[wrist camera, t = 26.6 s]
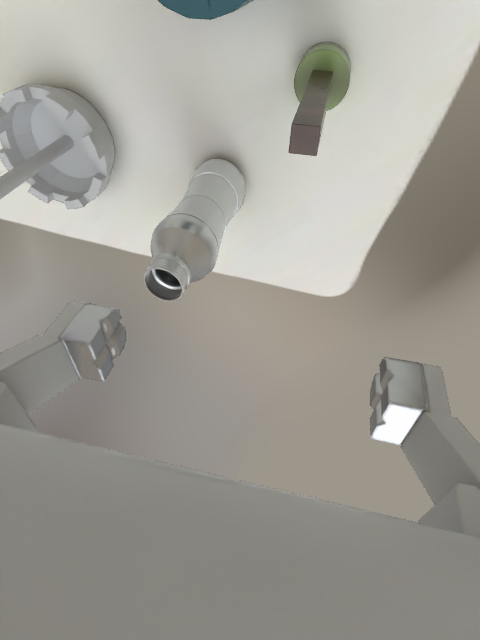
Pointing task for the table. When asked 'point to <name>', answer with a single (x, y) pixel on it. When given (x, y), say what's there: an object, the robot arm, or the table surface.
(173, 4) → the jar
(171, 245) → the plastic bottle
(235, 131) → the table surface
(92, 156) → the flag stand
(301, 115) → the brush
